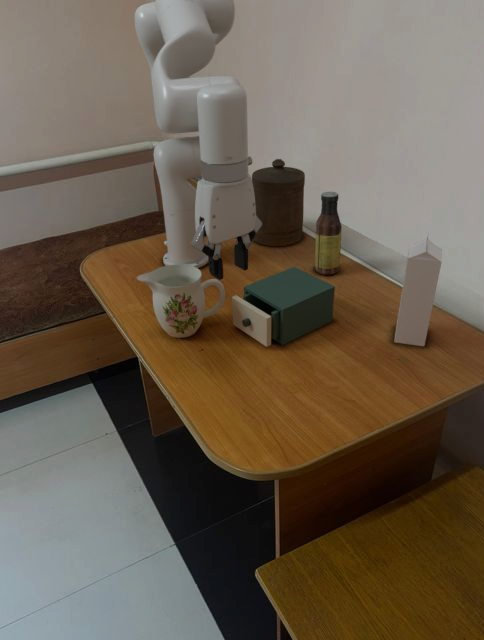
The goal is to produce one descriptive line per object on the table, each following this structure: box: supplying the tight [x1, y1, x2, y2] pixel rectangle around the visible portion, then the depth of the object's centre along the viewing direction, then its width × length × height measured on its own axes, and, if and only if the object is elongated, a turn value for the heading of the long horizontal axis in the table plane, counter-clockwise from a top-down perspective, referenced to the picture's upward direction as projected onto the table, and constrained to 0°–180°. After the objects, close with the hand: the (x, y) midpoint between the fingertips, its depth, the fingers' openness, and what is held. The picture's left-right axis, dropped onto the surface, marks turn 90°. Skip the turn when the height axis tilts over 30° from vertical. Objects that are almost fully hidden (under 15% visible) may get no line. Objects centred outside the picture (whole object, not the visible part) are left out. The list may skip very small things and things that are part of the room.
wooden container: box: [251, 158, 306, 247], centre depth 151 cm, size 15×15×22 cm
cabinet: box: [243, 266, 336, 346], centre depth 116 cm, size 15×13×9 cm
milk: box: [393, 231, 443, 347], centre depth 105 cm, size 6×6×22 cm
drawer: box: [231, 293, 281, 348], centre depth 114 cm, size 15×11×7 cm
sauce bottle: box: [314, 191, 342, 276], centre depth 132 cm, size 6×6×20 cm
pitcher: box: [136, 264, 226, 339], centre depth 113 cm, size 11×18×14 cm, turn 103°
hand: (229, 271), depth 96 cm, fingers open, 4 cm apart
